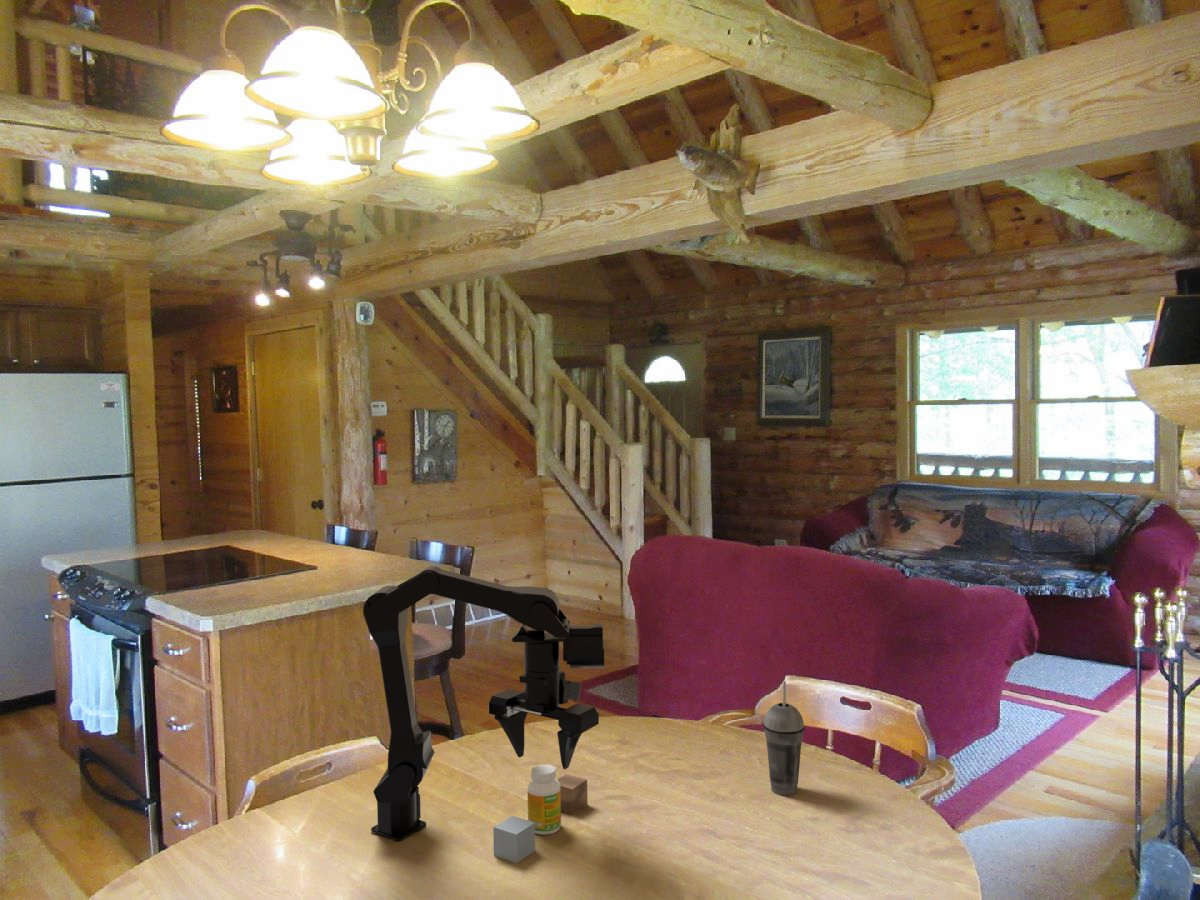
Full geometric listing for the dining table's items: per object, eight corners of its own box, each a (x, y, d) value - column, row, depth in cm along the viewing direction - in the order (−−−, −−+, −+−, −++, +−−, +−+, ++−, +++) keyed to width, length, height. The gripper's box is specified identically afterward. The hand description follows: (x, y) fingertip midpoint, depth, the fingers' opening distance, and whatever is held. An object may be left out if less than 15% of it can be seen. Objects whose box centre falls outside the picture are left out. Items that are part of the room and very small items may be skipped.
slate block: (516, 864, 129) (516, 834, 129) (493, 855, 131) (493, 827, 131) (535, 851, 132) (534, 822, 132) (512, 843, 135) (512, 815, 135)
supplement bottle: (546, 839, 136) (545, 778, 136) (521, 829, 139) (520, 770, 139) (567, 826, 140) (566, 767, 140) (542, 817, 144) (542, 760, 143)
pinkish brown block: (572, 815, 144) (572, 789, 144) (551, 809, 147) (550, 783, 147) (587, 805, 148) (587, 779, 148) (566, 799, 151) (566, 773, 150)
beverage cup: (802, 782, 156) (801, 673, 156) (807, 799, 149) (807, 686, 148) (761, 781, 157) (761, 673, 156) (765, 798, 150) (764, 685, 149)
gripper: (616, 664, 141) (617, 757, 141) (527, 648, 151) (528, 736, 151) (578, 681, 131) (579, 781, 132) (485, 663, 142) (486, 756, 142)
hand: (542, 762), depth 140 cm, fingers open, 9 cm apart
